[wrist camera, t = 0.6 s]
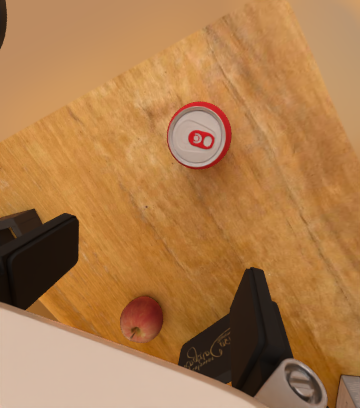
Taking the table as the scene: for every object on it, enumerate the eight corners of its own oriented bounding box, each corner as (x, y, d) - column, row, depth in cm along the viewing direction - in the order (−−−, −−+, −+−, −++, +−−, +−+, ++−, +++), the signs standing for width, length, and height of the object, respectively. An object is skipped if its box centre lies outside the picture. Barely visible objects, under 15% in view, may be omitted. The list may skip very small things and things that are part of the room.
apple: (123, 293, 43) (102, 327, 36) (155, 284, 41) (139, 318, 33) (141, 321, 45) (125, 359, 38) (173, 314, 42) (162, 353, 35)
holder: (-3, 218, 43) (-27, 228, 39) (34, 208, 40) (12, 217, 36) (22, 260, 46) (2, 274, 42) (58, 254, 43) (40, 267, 39)
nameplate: (188, 350, 45) (178, 407, 36) (181, 345, 45) (170, 401, 36) (260, 303, 37) (272, 360, 28) (253, 296, 37) (262, 352, 28)
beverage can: (191, 105, 28) (170, 90, 17) (235, 116, 28) (242, 108, 17) (180, 150, 31) (156, 162, 20) (221, 161, 30) (218, 180, 19)
